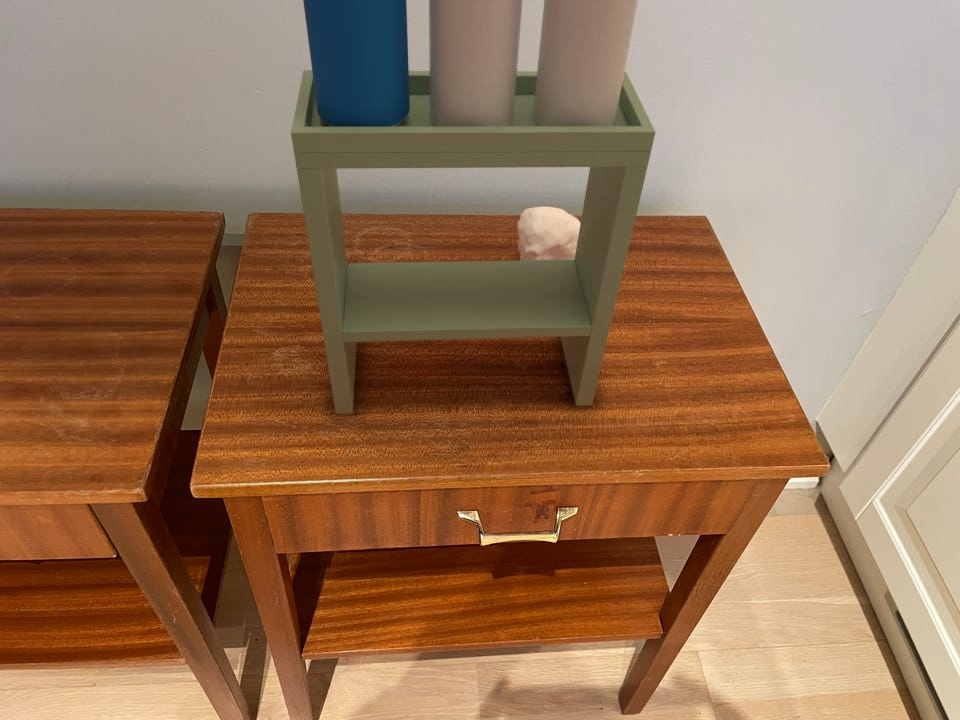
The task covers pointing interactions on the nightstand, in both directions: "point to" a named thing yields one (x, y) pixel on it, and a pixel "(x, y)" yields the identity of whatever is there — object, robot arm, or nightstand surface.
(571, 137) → the can shelf
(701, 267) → the nightstand surface
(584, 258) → the shelf stand
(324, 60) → the beverage can
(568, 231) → the pale pink lump
